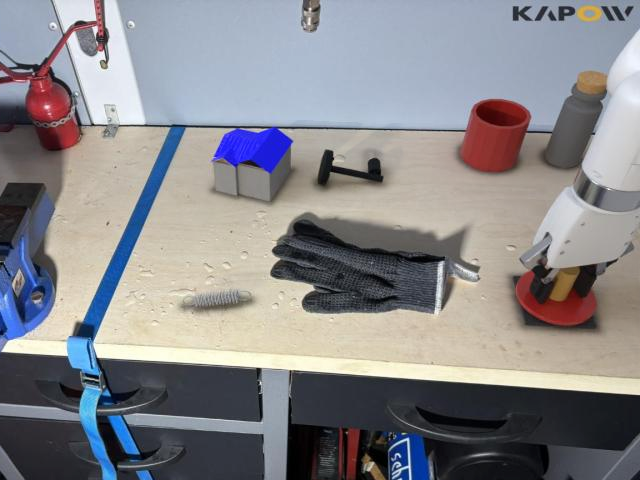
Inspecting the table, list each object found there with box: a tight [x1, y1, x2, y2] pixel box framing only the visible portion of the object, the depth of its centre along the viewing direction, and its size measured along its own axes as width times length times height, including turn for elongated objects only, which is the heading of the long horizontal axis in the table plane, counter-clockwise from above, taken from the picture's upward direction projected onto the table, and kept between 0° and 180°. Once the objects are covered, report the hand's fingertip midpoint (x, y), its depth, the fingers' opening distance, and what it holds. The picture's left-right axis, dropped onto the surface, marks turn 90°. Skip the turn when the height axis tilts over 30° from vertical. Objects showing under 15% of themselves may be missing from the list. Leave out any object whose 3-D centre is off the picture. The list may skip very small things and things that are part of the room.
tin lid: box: [515, 266, 598, 325], centre depth 81 cm, size 10×10×6 cm
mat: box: [512, 275, 597, 330], centre depth 83 cm, size 9×9×1 cm
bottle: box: [543, 70, 608, 169], centre depth 100 cm, size 6×6×15 cm
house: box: [210, 126, 294, 202], centre depth 103 cm, size 10×11×8 cm
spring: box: [181, 289, 252, 308], centre depth 86 cm, size 10×2×2 cm, turn 95°
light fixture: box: [317, 148, 385, 186], centre depth 105 cm, size 6×11×13 cm
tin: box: [460, 98, 532, 173], centre depth 104 cm, size 9×9×8 cm
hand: (557, 292), depth 82 cm, fingers open, 5 cm apart
